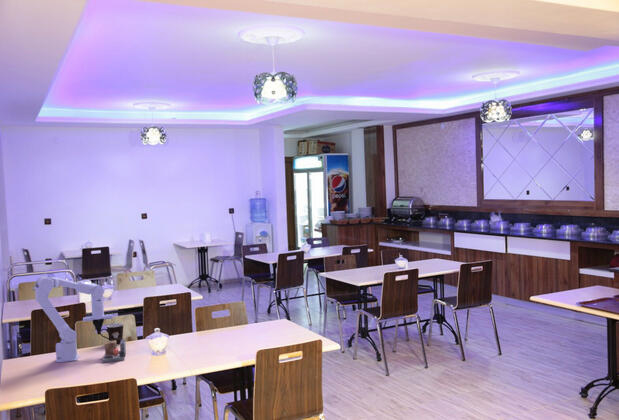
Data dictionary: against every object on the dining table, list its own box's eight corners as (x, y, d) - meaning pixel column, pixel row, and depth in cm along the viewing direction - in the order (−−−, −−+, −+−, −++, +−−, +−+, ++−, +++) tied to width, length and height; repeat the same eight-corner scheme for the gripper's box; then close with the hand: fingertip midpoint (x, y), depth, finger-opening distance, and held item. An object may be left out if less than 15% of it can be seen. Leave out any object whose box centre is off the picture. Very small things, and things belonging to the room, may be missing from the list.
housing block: (105, 355, 283) (104, 343, 283) (106, 353, 288) (105, 341, 287) (116, 354, 284) (115, 342, 284) (116, 351, 289) (116, 340, 289)
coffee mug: (127, 341, 315) (126, 323, 314) (120, 345, 306) (119, 327, 306) (107, 341, 316) (105, 323, 315) (99, 345, 307) (98, 327, 307)
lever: (112, 358, 276) (112, 350, 276) (113, 357, 279) (112, 348, 279) (119, 358, 277) (118, 349, 277) (119, 356, 280) (119, 348, 279)
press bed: (102, 362, 275) (101, 348, 275) (105, 354, 289) (104, 341, 289) (124, 360, 278) (123, 346, 278) (126, 352, 291) (125, 339, 291)
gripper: (81, 310, 287) (83, 337, 287) (111, 308, 290) (113, 334, 291) (83, 308, 293) (85, 334, 294) (113, 305, 297) (114, 331, 297)
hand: (99, 333), depth 293 cm, fingers closed
